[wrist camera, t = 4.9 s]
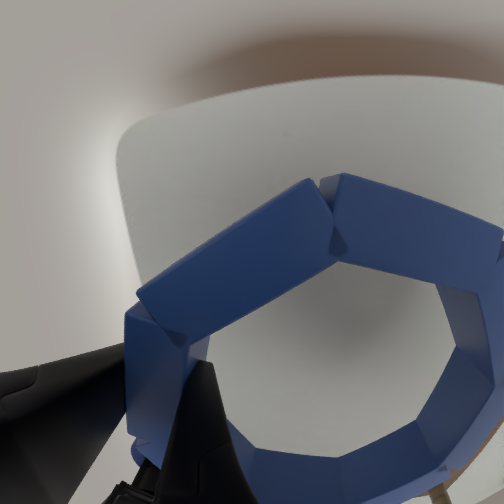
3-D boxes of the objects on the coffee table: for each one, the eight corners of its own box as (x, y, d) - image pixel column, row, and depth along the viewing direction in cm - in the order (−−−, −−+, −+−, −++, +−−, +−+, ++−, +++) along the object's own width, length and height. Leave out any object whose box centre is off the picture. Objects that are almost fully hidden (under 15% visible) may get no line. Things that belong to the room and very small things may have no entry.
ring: (156, 443, 10) (133, 489, 8) (188, 151, 8) (145, 135, 5) (400, 475, 10) (412, 517, 7) (519, 244, 7) (570, 262, 5)
